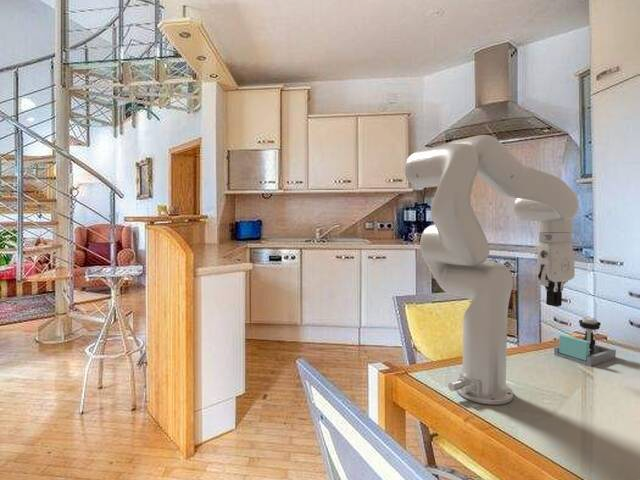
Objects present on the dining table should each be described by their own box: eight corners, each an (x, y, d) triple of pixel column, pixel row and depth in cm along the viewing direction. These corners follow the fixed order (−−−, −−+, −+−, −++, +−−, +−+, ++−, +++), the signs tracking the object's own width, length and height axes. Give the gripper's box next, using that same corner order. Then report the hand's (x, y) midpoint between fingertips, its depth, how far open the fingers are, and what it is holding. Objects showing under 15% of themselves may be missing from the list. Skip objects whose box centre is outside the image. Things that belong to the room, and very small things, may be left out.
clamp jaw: (585, 360, 106) (586, 342, 106) (558, 352, 113) (559, 335, 113) (588, 359, 107) (589, 341, 107) (561, 351, 114) (562, 334, 113)
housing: (590, 366, 105) (590, 358, 105) (554, 354, 114) (554, 347, 114) (615, 357, 111) (615, 349, 111) (579, 347, 120) (579, 340, 120)
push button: (598, 357, 109) (599, 323, 109) (576, 353, 113) (577, 320, 112) (600, 351, 114) (601, 318, 114) (578, 347, 118) (579, 315, 117)
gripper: (552, 241, 96) (550, 312, 98) (585, 237, 103) (584, 304, 105) (524, 239, 103) (523, 306, 104) (557, 236, 110) (556, 299, 111)
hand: (553, 305), depth 104 cm, fingers closed
